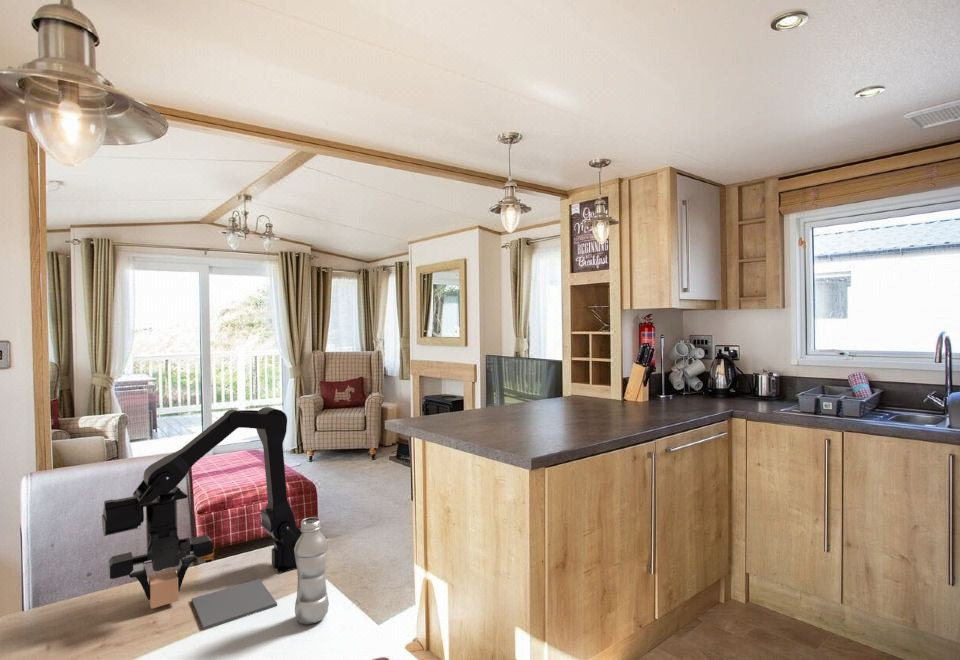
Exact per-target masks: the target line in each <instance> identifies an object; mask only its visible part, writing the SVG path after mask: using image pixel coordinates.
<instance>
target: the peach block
mask: <svg viewBox="0 0 960 660" xmlns="http://www.w3.org/2000/svg"><path fill="white" fill-rule="evenodd" d="M147 579H148V584H149V590H150V600H148V602H149V606H150V609H152V610H153V609H155V608H158V607H162V606H165V605H169V604H172V603H175V602H179V598H180V597H179V593H180V591H179V592H178V576H177V570H176V569H175V568H174V569H171V570H167V571H163V572H159V573H154V574H151V575H147Z"/></svg>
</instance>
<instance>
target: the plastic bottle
mask: <svg viewBox="0 0 960 660" xmlns="http://www.w3.org/2000/svg"><path fill="white" fill-rule="evenodd" d="M321 529H322V527H321V519H320V518H319V517H316V516H315V517H313V516H312V517H307V518H304V519H302V520H301V522H300V530H301V532H302V534H301V536H300V537H299V539H298V541H297V542H296V545H295V548H294V551H295V559H296V565H297V568H296V575H297V590H296V598H295V602H294V603H295V604H294V605H295V606H294V615H295V619H296V621H298V622H299V623H300V624H302V625H312V624H315V623H318V622H320V621H322V620H324V618H325V617H326V616H327V614H328V610H329V607H330V606H329V604H330V602H329V596H328V592H327V583H326V582H327V581H326V568H327V567H326V563H327V557H328V541H327V538H326V537H325V535H324V534H323V533H322V532H321V531H320V530H321Z"/></svg>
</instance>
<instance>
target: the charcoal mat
mask: <svg viewBox="0 0 960 660" xmlns="http://www.w3.org/2000/svg"><path fill="white" fill-rule="evenodd" d="M191 603H192V605H193V608H194V610H195V612H196V615H197V618H198V620H199V623H200V625H201V627H202V630H203V631H205V630H209V629H211V628H214V627H218V626H220V625H223V624H226V623H229V622H231V621H232V622H233V621H235V620H238V619H241V618H244V617H247V615H248V616H251V615H253V613H254V614H256V613H255V612H257V613H260V612H263V611H266V610H268V609H269V610H270V609H272V608H275V607H278V602H277V601H276V600H275V598H274V596H273V595H272V594H271V593H270V591H269V590H268V588H267V587H266V585H265V584H264V583H263V581H262V580H261V579H260V578H257V579H254V580H250V581H248V582H244V583H240V584H236V585H233V586H229V587H227V588H223V589H219V590H216V591H212V592H209V593H206V594H202V595H198V596H196V597H192V598H191ZM262 610H263V611H262ZM259 611H260V612H259ZM250 614H251V615H250Z"/></svg>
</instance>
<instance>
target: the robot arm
mask: <svg viewBox="0 0 960 660" xmlns="http://www.w3.org/2000/svg"><path fill="white" fill-rule="evenodd" d="M287 427H288V416H287V414H286V413H285V412H283V410H281V409H279V408H275V407H274V408H273V407H270V406H264V407H261V409H259V410H254V409H253V410H252V409H251V410H250V409H248V410H247V409H246V410H238V409H234V408H232V409H228V410H227V411H225V412H224V414H223V415H221V416H220V417H219V418H217V420H215V421H214V422H213V423H212V424H210V425H209V426H207V428H205V429H204V430H203V431H202V432H200V434H198V435H197V436H195V437H194V438H193V439H192V440H191V441H189V442H188V443H186V444H185V445H184V446H183V447H182V448H180V449H179V450H177V451H175V452H173V453H170V454H168V455H165V456H164V457H162V458H160V459H159V460H156V461H154V462H153V463H152V464H150V465H148V467H147V468H146V469H145V470H144V472H143V477H142V478H143V480H142V481H141V482H140V483H139V485H138V486H137V488H136V489H135V490H134V492H133V493H132V496H128V497H124V498H118V499H108V500H104V502H103V510H102V512H103V513H102V515H101V524H102V525H101V527H102V533H103V537H107V536H111V535H116V534H119V533H124V532H130V531H133V530H137V529H138V528H139V526H140V527H141V526H142V523H144V519H145V526H146V528H145V530H146V532H145V533H146V553H144V554H141V555H136V556H133V554H132V552H131V551H130V552H125V553H122V554H117V555H112V556H111V557H110V558H109V559H108V573H109V579H113V580H115V579H119V578H123V577H126V576H129V578H131V579H133V578H136V579H137V581H138V582H139V584H140V585H141V587H142V590H143V591H144V594H145V596H146V598H147V601H149V600H150V590H149V584H148V575H147V573H148V572H147V569H146V565H147V564H151V566H152V571H154V572H160V571H162V570H165V569H168V568H169V569H170V568H176V573H177V576H178V592H179V593H180V590H181V587H182V584H183V581H184V578H185V575H186V573H187V571H188V568H189V566H190V565H192V563H195V562H196V561H197V560H198V558H202V557H205V556H209V555H212V554H213V553H214V544H213V540H212V539H211V538H210V536H209V535H207V534H203V535H198V536H195V537H185V538H179V536H178V535H179V534H178V531H179V530H178V527H179V526H178V501H180V500H185V499H187V498H188V494H187V493H185V492H184V491H183V490H181V488H180V486H178V485H179V484H180V483H181V482H182V481H183V480H184V478H185V477H186V476H187V474H188V473H189V471H190V470H191V469H192V467H193V466H194V465H195V464H196V463H197V462H198V461H199V460H201V459H202V458H203V457H205V456H206V455H207V454H208V453H209V452H210V451H211V450H213V449H214V448H215V447H217V446H218V445H219V444H220V443H221V442H223V441H224V440H225V439H226V438H228V437H229V436H230V435H231V434H232V433H233V432H235V431H236V430H237V429H239V428H240V429H241V428H242V429H243V428H246V429H256V432H257V435H258V438H259V440H260V442H261V444H262V449H263V461H264V469H265V483H266V492H267V503H266V507H265V508H263V509H259V512H260V513H259V514H260V516H261V522H260V526H261V527H262V528H263V529H264V531H265V532H267V533H268V534H269V535H270V536H271V537H272V539H274V541H273V548H272V549H271V566H272V567H273V568H274V569H275V570H276V571H277V572H278V573H279V574H281V573H285V572H288V571H290V570H291V571H292V570H294V569H295V570H296V569H297V565H296V559H295V551H294V548H295V545H296V542H297V541H298V539H299V537H300V536H301V534H302V532H301V528H299V527H297V521H296V518H295V513H294V512H293V509H292V507H291V505H290V503H289V499H288V492H287V491H288V490H287V481H286V469H285V457H284V455H285V453H284V441H285V438H286V434H287V429H288V428H287ZM144 507H145V511H144ZM144 512H145V513H144ZM144 514H145V515H144Z"/></svg>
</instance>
